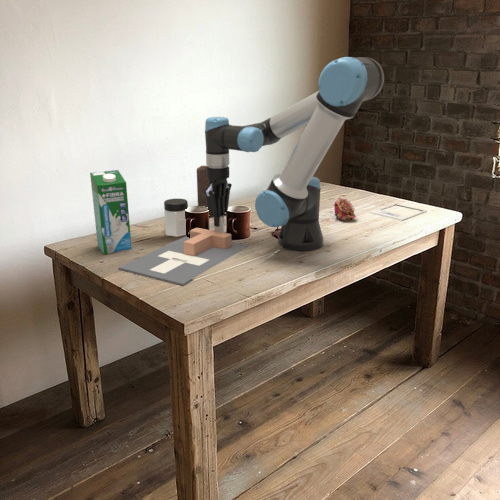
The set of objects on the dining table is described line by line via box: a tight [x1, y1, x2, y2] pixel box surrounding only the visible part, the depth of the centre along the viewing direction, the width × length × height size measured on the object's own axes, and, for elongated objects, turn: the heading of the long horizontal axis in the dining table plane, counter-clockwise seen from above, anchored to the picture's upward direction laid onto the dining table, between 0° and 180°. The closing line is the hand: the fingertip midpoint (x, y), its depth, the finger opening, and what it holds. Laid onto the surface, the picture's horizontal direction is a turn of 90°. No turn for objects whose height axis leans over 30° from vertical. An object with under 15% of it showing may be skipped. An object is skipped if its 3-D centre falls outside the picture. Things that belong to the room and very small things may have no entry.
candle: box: [196, 165, 214, 218], centre depth 209 cm, size 8×7×20 cm
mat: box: [118, 235, 250, 287], centre depth 170 cm, size 24×36×1 cm, turn 150°
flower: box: [333, 197, 357, 223], centre depth 207 cm, size 10×9×8 cm
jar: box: [163, 198, 189, 237], centre depth 190 cm, size 9×8×12 cm
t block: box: [183, 227, 233, 256], centre depth 176 cm, size 14×14×4 cm
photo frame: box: [369, 203, 428, 222], centre depth 217 cm, size 15×1×18 cm
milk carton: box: [89, 169, 132, 255], centre depth 175 cm, size 9×9×25 cm
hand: (219, 234), depth 185 cm, fingers closed
